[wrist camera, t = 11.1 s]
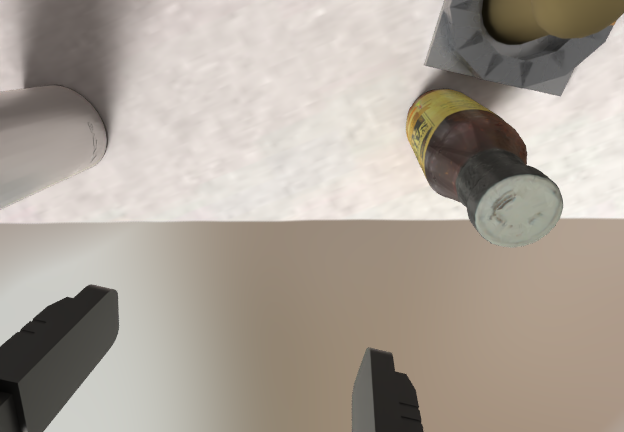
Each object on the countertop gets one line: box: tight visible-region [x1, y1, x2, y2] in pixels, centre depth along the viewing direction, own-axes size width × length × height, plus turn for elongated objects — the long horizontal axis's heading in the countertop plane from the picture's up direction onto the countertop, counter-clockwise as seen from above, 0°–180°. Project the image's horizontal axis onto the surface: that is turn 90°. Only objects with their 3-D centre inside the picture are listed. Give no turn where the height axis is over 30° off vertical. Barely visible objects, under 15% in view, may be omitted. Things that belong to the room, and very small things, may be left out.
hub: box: [424, 0, 616, 96], centre depth 29 cm, size 12×12×4 cm
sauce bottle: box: [406, 89, 563, 247], centre depth 26 cm, size 6×6×20 cm
